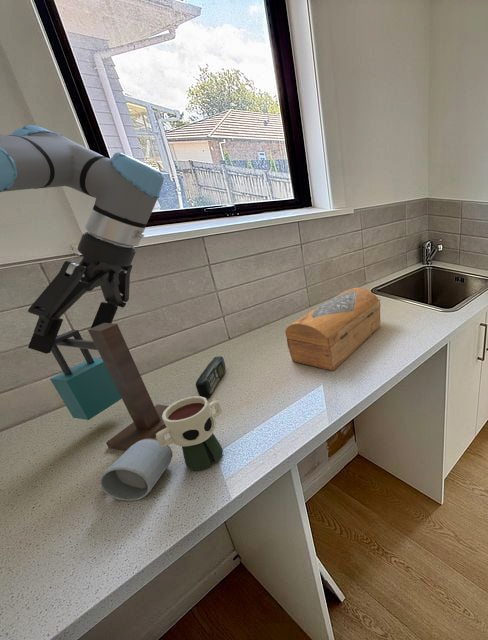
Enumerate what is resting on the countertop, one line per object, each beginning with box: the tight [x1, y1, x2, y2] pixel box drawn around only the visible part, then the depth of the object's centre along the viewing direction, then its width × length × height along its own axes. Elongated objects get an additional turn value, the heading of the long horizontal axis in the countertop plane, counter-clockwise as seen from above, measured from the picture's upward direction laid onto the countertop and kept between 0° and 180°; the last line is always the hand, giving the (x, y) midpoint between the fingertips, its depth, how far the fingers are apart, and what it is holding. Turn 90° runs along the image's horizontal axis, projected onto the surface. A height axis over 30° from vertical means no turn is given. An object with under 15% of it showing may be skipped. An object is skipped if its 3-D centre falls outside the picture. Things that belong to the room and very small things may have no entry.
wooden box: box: [284, 287, 381, 371], centre depth 106 cm, size 30×16×14 cm, turn 159°
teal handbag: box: [49, 329, 122, 421], centre depth 69 cm, size 4×8×18 cm, turn 170°
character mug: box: [155, 395, 224, 471], centre depth 64 cm, size 11×7×13 cm, turn 149°
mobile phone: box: [195, 355, 226, 399], centre depth 88 cm, size 5×3×15 cm
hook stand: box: [56, 322, 169, 452], centre depth 69 cm, size 18×12×26 cm
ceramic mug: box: [98, 438, 174, 502], centre depth 60 cm, size 11×8×8 cm
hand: (71, 340), depth 64 cm, fingers open, 13 cm apart
